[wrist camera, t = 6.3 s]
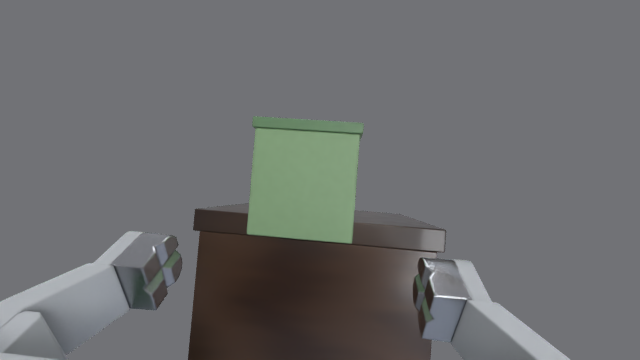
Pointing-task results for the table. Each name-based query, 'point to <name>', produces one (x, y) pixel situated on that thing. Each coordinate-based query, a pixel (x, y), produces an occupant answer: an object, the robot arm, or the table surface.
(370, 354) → the drawer unit
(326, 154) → the storage box
